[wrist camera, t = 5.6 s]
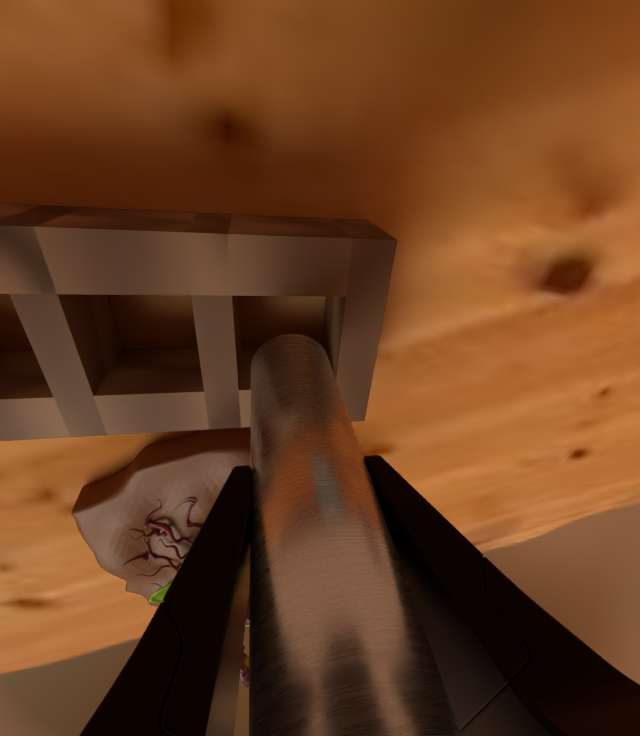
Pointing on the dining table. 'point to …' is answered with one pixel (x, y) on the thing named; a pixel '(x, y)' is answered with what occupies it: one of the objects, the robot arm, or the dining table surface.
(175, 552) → the plant
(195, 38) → the dining table surface
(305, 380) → the peg
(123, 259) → the hole block
